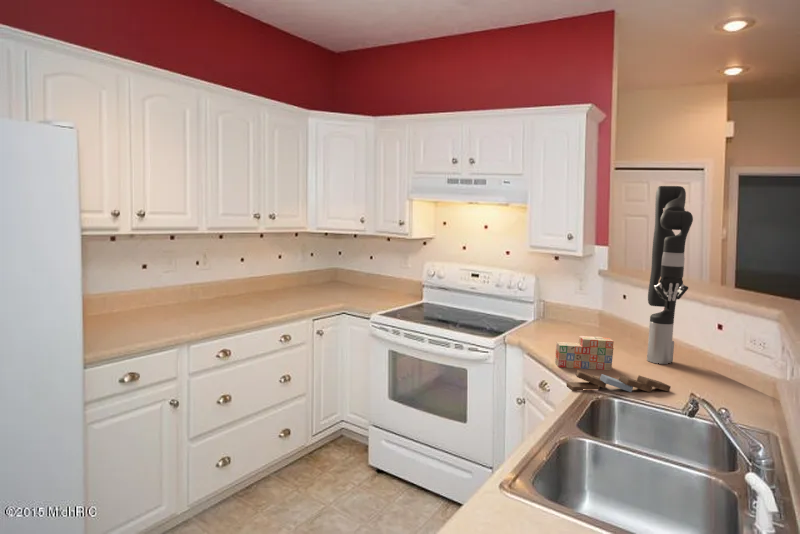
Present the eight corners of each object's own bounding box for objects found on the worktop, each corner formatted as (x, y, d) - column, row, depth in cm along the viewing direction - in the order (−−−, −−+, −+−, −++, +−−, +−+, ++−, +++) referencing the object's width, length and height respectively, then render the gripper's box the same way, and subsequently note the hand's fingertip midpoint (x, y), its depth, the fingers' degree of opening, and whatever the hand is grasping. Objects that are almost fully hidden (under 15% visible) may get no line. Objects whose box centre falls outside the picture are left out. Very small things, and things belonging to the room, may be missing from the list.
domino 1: (604, 380, 193) (577, 369, 196) (606, 383, 189) (579, 372, 191) (602, 385, 194) (575, 374, 196) (604, 388, 189) (577, 377, 191)
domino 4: (661, 382, 194) (638, 375, 192) (670, 386, 189) (647, 379, 187) (659, 387, 194) (636, 380, 192) (669, 391, 189) (645, 384, 187)
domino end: (593, 382, 193) (566, 382, 192) (599, 386, 188) (572, 386, 187) (592, 387, 193) (566, 387, 192) (599, 392, 188) (571, 392, 187)
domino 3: (643, 382, 193) (620, 375, 191) (652, 387, 188) (628, 379, 186) (642, 387, 193) (618, 380, 191) (650, 392, 188) (626, 384, 186)
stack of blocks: (558, 367, 216) (559, 338, 215) (554, 363, 223) (556, 334, 221) (611, 370, 215) (614, 340, 213) (607, 366, 221) (609, 337, 220)
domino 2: (626, 382, 192) (601, 373, 192) (633, 387, 187) (607, 378, 187) (624, 387, 192) (599, 379, 192) (631, 392, 187) (605, 383, 187)
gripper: (661, 265, 193) (657, 312, 195) (695, 266, 194) (691, 312, 196) (650, 263, 201) (646, 308, 203) (683, 263, 202) (679, 308, 204)
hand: (668, 310), depth 199 cm, fingers closed
